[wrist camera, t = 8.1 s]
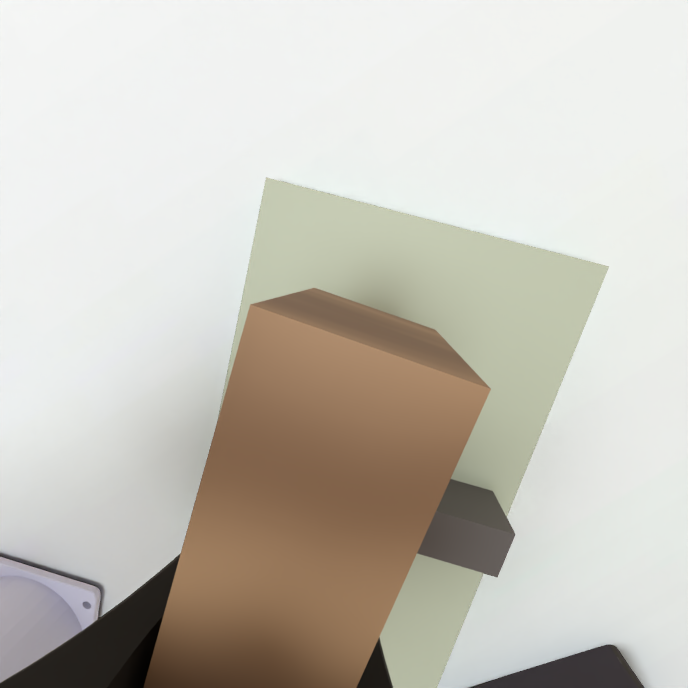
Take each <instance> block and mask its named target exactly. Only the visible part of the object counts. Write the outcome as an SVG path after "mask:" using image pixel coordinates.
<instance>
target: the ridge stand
mask: <svg viewBox="0 0 688 688" xmlns="http://www.w3.org/2000/svg"><path fill="white" fill-rule="evenodd" d="M608 268H609V267H608V266H604V265H601V264H597V263H593V262H589V261H585V260H581V259H578V258H574V257H570V256H566V255H562V254H558V253H555V252H551V251H547V250H543V249H539V248H535V247H532V246H528V245H524V244H520V243H516V242H512V241H508V240H505V239H501V238H497V237H493V236H489V235H485V234H482V233H478V232H474V231H470V230H466V229H462V228H459V227H455V226H451V225H447V224H443V223H439V222H435V221H432V220H428V219H424V218H420V217H416V216H412V215H409V214H405V213H401V212H397V211H393V210H389V209H386V208H382V207H378V206H374V205H370V204H366V203H362V202H359V201H355V200H351V199H347V198H343V197H339V196H336V195H332V194H328V193H324V192H320V191H316V190H313V189H309V188H305V187H301V186H297V185H293V184H289V183H286V182H282V181H278V180H274V179H270V178H266V181H265V186H264V191H263V196H262V201H261V206H260V211H259V216H258V221H257V226H256V231H255V236H254V241H253V246H252V251H251V256H250V261H249V266H248V271H247V276H246V281H245V286H244V291H243V296H242V301H241V306H240V311H239V316H238V321H237V326H236V331H235V336H234V341H233V346H232V351H231V356H230V361H229V366H228V371H227V376H226V381H225V386H224V391H223V396H222V401H221V406H220V411H221V407H222V404H223V400H224V397H225V393H226V389H227V386H228V382H229V379H230V375H231V371H232V368H233V364H234V361H235V357H236V353H237V350H238V346H239V343H240V339H241V336H242V332H243V328H244V325H245V321H246V318H247V314H248V310H249V307H250V304H254V303H257V302H261V301H265V300H269V299H273V298H277V297H280V296H284V295H288V294H292V293H296V292H300V291H303V290H307V289H311V288H317V289H320V290H323V291H326V292H329V293H332V294H334V295H337V296H340V297H343V298H346V299H349V300H352V301H355V302H357V303H360V304H363V305H366V306H369V307H372V308H375V309H378V310H380V311H383V312H386V313H389V314H392V315H395V316H398V317H400V318H403V319H406V320H409V321H412V322H415V323H418V324H421V325H423V326H426V327H429V328H432V329H435V330H436V331H437V332H438V333H439V334H440V335H441V336H442V337H443V338H444V339H445V340H446V341H447V342H448V344H449V345H450V346H451V347H452V348H453V349H454V350H455V351H456V352H457V353H458V354H459V355H460V356H461V357H462V358H463V360H464V361H465V362H466V363H467V364H468V365H469V366H470V367H471V368H472V369H473V370H474V371H475V372H476V373H477V374H478V376H479V377H480V378H481V379H482V380H483V381H484V382H485V383H486V384H487V385H488V386H489V387H490V388H491V390H490V393H489V395H488V397H487V399H486V401H485V404H484V406H483V408H482V410H481V412H480V415H479V417H478V419H477V421H476V424H475V426H474V428H473V430H472V432H471V435H470V437H469V439H468V441H467V444H466V446H465V448H464V450H463V452H462V455H461V457H460V459H459V461H458V463H457V466H456V468H455V470H454V472H453V475H452V477H451V479H450V481H449V483H448V486H447V488H446V490H445V492H444V495H443V497H442V499H441V501H440V503H439V506H438V508H437V510H436V512H435V514H434V517H433V519H432V521H431V523H430V526H429V528H428V530H427V532H426V534H425V537H424V539H423V541H422V543H421V546H420V548H419V550H418V552H417V554H416V557H415V559H414V561H413V563H412V566H411V568H410V570H409V572H408V574H407V577H406V579H405V581H404V583H403V585H402V588H401V590H400V592H399V594H398V597H397V599H396V601H395V603H394V605H393V608H392V610H391V612H390V614H389V617H388V619H387V621H386V623H385V625H384V628H383V630H382V632H381V634H380V636H379V637H380V642H381V646H382V650H383V653H384V657H385V661H386V664H387V668H388V671H389V675H390V678H391V682H392V685H393V688H437V686H438V684H439V681H440V679H441V676H442V674H443V671H444V669H445V666H446V664H447V661H448V659H449V657H450V654H451V652H452V649H453V647H454V644H455V642H456V639H457V637H458V635H459V632H460V630H461V627H462V625H463V622H464V620H465V617H466V615H467V613H468V610H469V608H470V605H471V603H472V600H473V598H474V595H475V593H476V591H477V588H478V586H479V583H480V581H481V578H482V576H483V573H484V574H488V575H491V576H495V577H498V574H499V572H500V570H501V567H502V565H503V563H504V560H505V558H506V555H507V553H508V551H509V548H510V546H511V543H512V541H513V539H514V536H515V533H514V531H513V529H512V527H511V525H510V523H509V521H508V519H507V515H508V512H509V510H510V507H511V505H512V503H513V500H514V498H515V495H516V493H517V490H518V488H519V485H520V483H521V481H522V478H523V476H524V473H525V471H526V468H527V466H528V463H529V461H530V459H531V456H532V454H533V451H534V449H535V446H536V444H537V441H538V439H539V437H540V434H541V432H542V429H543V427H544V424H545V422H546V419H547V417H548V414H549V412H550V410H551V407H552V405H553V402H554V400H555V397H556V395H557V392H558V390H559V388H560V385H561V383H562V380H563V378H564V375H565V373H566V370H567V368H568V366H569V363H570V361H571V358H572V356H573V353H574V351H575V348H576V346H577V344H578V341H579V339H580V336H581V334H582V331H583V329H584V326H585V324H586V322H587V319H588V317H589V314H590V312H591V309H592V307H593V304H594V302H595V300H596V297H597V295H598V292H599V290H600V287H601V285H602V282H603V280H604V278H605V275H606V273H607V270H608ZM220 411H219V414H220ZM218 418H219V416H218ZM217 422H218V421H217Z"/></svg>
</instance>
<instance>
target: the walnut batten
mask: <svg viewBox="0 0 688 688" xmlns="http://www.w3.org/2000/svg"><path fill="white" fill-rule="evenodd" d="M490 390H491V388H490V387H489V386H488V385H487V384H486V383H485V382H484V381H483V380H482V379H481V378H480V377H479V376H478V374H477V373H476V372H475V371H474V370H473V369H472V368H471V367H470V366H469V365H468V364H467V363H466V362H465V361H464V360H463V358H462V357H461V356H460V355H459V354H458V353H457V352H456V351H455V350H454V349H453V348H452V347H451V346H450V345H449V344H448V342H447V341H446V340H445V339H444V338H443V337H442V336H441V335H440V334H439V333H438V332H437V331H436V330H435V329H432V328H429V327H426V326H423V325H421V324H418V323H415V322H412V321H409V320H406V319H403V318H400V317H398V316H395V315H392V314H389V313H386V312H383V311H380V310H378V309H375V308H372V307H369V306H366V305H363V304H360V303H357V302H355V301H352V300H349V299H346V298H343V297H340V296H337V295H334V294H332V293H329V292H326V291H323V290H320V289H317V288H311V289H307V290H303V291H300V292H296V293H292V294H288V295H284V296H280V297H277V298H273V299H269V300H265V301H261V302H257V303H254V304H250V307H249V310H248V314H247V318H246V321H245V325H244V328H243V332H242V336H241V339H240V343H239V346H238V350H237V353H236V357H235V361H234V364H233V368H232V371H231V375H230V379H229V382H228V386H227V389H226V393H225V397H224V400H223V404H222V407H221V411H220V414H219V418H218V422H217V425H216V429H215V432H214V436H213V440H212V443H211V447H210V450H209V454H208V458H207V461H206V465H205V468H204V472H203V475H202V479H201V483H200V486H199V490H198V493H197V497H196V501H195V504H194V508H193V511H192V515H191V519H190V522H189V526H188V529H187V533H186V536H185V540H184V544H183V547H182V551H181V554H180V558H179V562H178V565H177V569H176V572H175V576H174V580H173V583H172V587H171V590H170V594H169V597H168V601H167V605H166V608H165V612H164V615H163V619H162V623H161V626H160V630H159V633H158V637H157V641H156V644H155V648H154V651H153V655H152V658H151V662H150V666H149V669H148V673H147V676H146V680H145V684H144V687H143V688H356V687H357V685H358V683H359V681H360V679H361V676H362V674H363V672H364V670H365V668H366V665H367V663H368V661H369V659H370V656H371V654H372V652H373V650H374V648H375V645H376V643H377V641H378V639H379V636H380V634H381V632H382V630H383V628H384V625H385V623H386V621H387V619H388V617H389V614H390V612H391V610H392V608H393V605H394V603H395V601H396V599H397V597H398V594H399V592H400V590H401V588H402V585H403V583H404V581H405V579H406V577H407V574H408V572H409V570H410V568H411V566H412V563H413V561H414V559H415V557H416V554H417V552H418V550H419V548H420V546H421V543H422V541H423V539H424V537H425V534H426V532H427V530H428V528H429V526H430V523H431V521H432V519H433V517H434V514H435V512H436V510H437V508H438V506H439V503H440V501H441V499H442V497H443V495H444V492H445V490H446V488H447V486H448V483H449V481H450V479H451V477H452V475H453V472H454V470H455V468H456V466H457V463H458V461H459V459H460V457H461V455H462V452H463V450H464V448H465V446H466V444H467V441H468V439H469V437H470V435H471V432H472V430H473V428H474V426H475V424H476V421H477V419H478V417H479V415H480V412H481V410H482V408H483V406H484V404H485V401H486V399H487V397H488V395H489V393H490Z"/></svg>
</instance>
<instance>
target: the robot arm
mask: <svg viewBox="0 0 688 688" xmlns="http://www.w3.org/2000/svg"><path fill="white" fill-rule="evenodd" d="M179 558H180V554H179V555H178V556H177V557H176V558H175V559H174V560H173V561H171V562H170V563H169V564H168V565H167V566H166V567H164V568H163V569H162V570H161V571H160V572H158V573H157V574H156V575H155V576H154V577H152V578H151V579H150V580H149V581H147V582H146V583H145V584H144V585H142V586H141V587H140V588H139V589H137V590H136V591H135V592H134V593H132V594H131V595H130V596H129V597H127V598H126V599H125V600H123V601H122V602H121V603H120V604H118V605H117V606H115V607H114V608H113V609H111V610H110V611H109V612H107V613H106V614H104V615H103V616H102V617H100V618H99V619H98V620H97V618H98V611H99V604H100V597H101V593H100V590H99V589H98V588H97V587H95V586H93V585H89V584H86V583H83V582H80V581H77V580H73V579H70V578H67V577H64V576H61V575H57V574H54V573H51V572H48V571H45V570H41V569H38V568H35V567H32V566H28V565H25V564H22V563H19V562H16V561H12V560H9V559H6V558H3V557H0V688H143V687H144V684H145V680H146V676H147V673H148V669H149V666H150V662H151V658H152V655H153V651H154V648H155V644H156V641H157V637H158V633H159V630H160V626H161V623H162V619H163V615H164V612H165V608H166V605H167V601H168V597H169V594H170V590H171V587H172V583H173V580H174V576H175V572H176V569H177V565H178V562H179ZM356 688H393V685H392V682H391V678H390V675H389V671H388V668H387V664H386V661H385V657H384V653H383V650H382V646H381V642H380V637H379V639H378V641H377V643H376V645H375V648H374V650H373V652H372V654H371V656H370V659H369V661H368V663H367V665H366V668H365V670H364V672H363V674H362V676H361V679H360V681H359V683H358V685H357V687H356Z"/></svg>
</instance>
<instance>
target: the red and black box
mask: <svg viewBox="0 0 688 688" xmlns="http://www.w3.org/2000/svg"><path fill="white" fill-rule="evenodd" d="M473 688H644V687H643V685H642V684H641V682H640V681H639V679H638V678H637V676H636V675H635V673H634V672H633V671H632V669H631V668H630V666H629V665H628V663H627V662H626V660H625V659H624V658H623V656H622V655H621V653H620V652H619V650H618V649H617V648H616V647H615V646H613V645H604V646H601V647H597V648H594V649H591V650H588V651H585V652H581V653H578V654H575V655H572V656H568V657H565V658H562V659H559V660H555V661H552V662H549V663H546V664H542V665H539V666H536V667H533V668H530V669H526V670H523V671H520V672H517V673H513V674H510V675H507V676H504V677H501V678H498V679H495V680H492V681H489V682H487V683H484V684H481V685H478V686H476V687H473Z"/></svg>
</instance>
